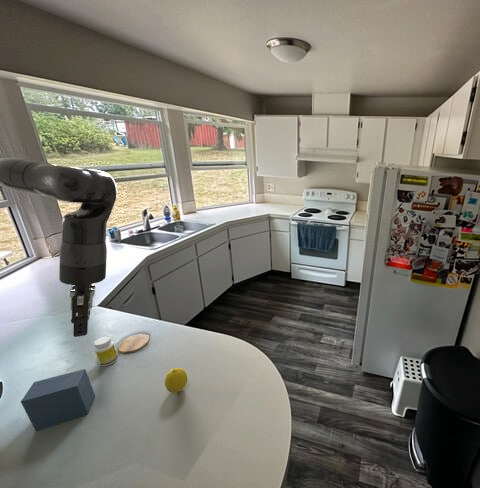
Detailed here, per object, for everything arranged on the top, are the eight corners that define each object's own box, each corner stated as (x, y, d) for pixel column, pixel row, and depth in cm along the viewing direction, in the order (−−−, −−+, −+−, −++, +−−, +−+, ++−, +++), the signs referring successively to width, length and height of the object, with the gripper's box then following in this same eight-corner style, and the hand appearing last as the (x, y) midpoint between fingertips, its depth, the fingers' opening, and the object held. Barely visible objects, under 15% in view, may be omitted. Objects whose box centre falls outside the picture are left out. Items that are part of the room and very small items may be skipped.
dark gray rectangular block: (35, 431, 62) (20, 401, 58) (47, 410, 67) (33, 381, 63) (88, 414, 66) (76, 386, 63) (95, 395, 71) (85, 368, 68)
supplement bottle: (120, 359, 84) (114, 339, 81) (103, 369, 80) (96, 348, 77) (114, 353, 86) (107, 333, 83) (96, 362, 82) (89, 342, 79)
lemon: (162, 396, 72) (157, 375, 69) (177, 380, 77) (173, 360, 74) (179, 401, 70) (174, 379, 68) (193, 384, 75) (189, 364, 73)
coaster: (115, 356, 85) (115, 354, 84) (121, 339, 92) (121, 338, 92) (147, 348, 89) (147, 346, 88) (150, 333, 96) (150, 331, 96)
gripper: (64, 250, 58) (63, 314, 61) (53, 271, 48) (53, 346, 51) (107, 251, 63) (104, 309, 66) (105, 270, 53) (102, 338, 56)
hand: (82, 325), depth 58 cm, fingers open, 8 cm apart
